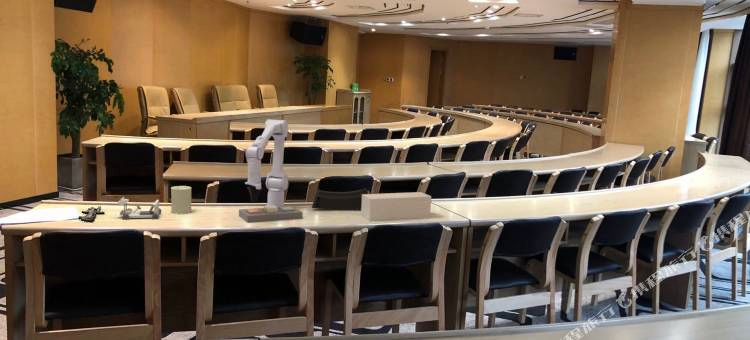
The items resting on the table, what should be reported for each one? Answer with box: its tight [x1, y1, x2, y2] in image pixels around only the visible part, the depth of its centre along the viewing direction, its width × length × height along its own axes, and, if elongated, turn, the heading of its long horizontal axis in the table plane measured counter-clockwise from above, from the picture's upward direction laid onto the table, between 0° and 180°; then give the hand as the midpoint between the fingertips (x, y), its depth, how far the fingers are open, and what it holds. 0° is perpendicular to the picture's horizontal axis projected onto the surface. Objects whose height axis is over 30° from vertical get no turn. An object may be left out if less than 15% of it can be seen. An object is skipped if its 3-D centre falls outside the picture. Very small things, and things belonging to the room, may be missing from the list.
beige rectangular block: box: [360, 191, 432, 222], centre depth 293 cm, size 32×11×11 cm, turn 113°
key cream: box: [263, 205, 278, 213], centre depth 281 cm, size 5×5×3 cm
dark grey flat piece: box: [78, 205, 105, 224], centre depth 271 cm, size 27×2×10 cm
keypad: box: [238, 205, 303, 223], centre depth 281 cm, size 14×26×3 cm, turn 118°
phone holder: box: [116, 196, 162, 221], centre depth 272 cm, size 18×10×12 cm
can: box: [170, 185, 192, 215], centre depth 284 cm, size 9×9×12 cm
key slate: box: [280, 207, 294, 211], centre depth 285 cm, size 5×5×3 cm
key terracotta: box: [247, 208, 261, 214], centre depth 278 cm, size 5×5×3 cm
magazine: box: [311, 187, 370, 212], centre depth 302 cm, size 17×3×30 cm
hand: (254, 201), depth 277 cm, fingers closed
